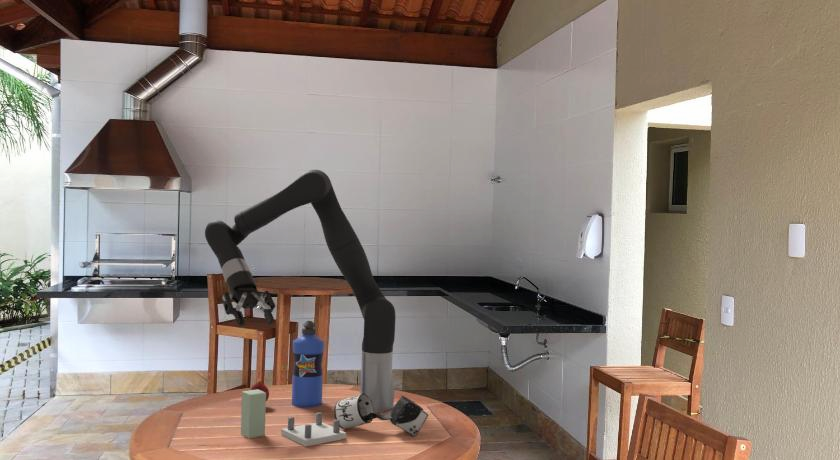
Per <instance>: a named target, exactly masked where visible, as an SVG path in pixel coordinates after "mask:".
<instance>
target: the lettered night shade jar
mask: <svg viewBox="0 0 840 460" xmlns="http://www.w3.org/2000/svg"><path fill="white" fill-rule="evenodd" d="M360 394H361V393H360ZM360 394H357V395H354V396H351V397H347V398H345V399H341V400H339V401H336V403H335V405H334V408H333V415H334V420H340V429H342V430H349V429H352V428H355V427H359V426H363V425H367V424H370V423H371V422H373V420H374V419H376V418H377V419H379V420H381V421H388V420H389V421H390V423H391V424H392V425H394V426H395V427H398V428H399V429H401V430H403V431H404V432H406V433H407V434H409V435H411V436H413V437H414V438H416V437H417V435H418V434H419V431H420V430H421V429H422V428H423V425H424V423H425V422H426V420H427V418H428V417H429V414H428V413H427V411H425V410H424V409H423V407H421V406H420V405H419V404H417V403H416V402H415V401H413V400H412V399H410V398H408V397H406V396H404V395H401V396H400V397H399V399H398V400H397V401H396V403H394V407H393V408H392V409H391V411H390V412H388V413H384V414H382V413H381V412H377V413H375V412H374V407H373V404H372V401H371V400H370V398H369V397H368V396H367V395H366V394H361V395H360Z"/></svg>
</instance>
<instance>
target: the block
mask: <svg viewBox="0 0 840 460" xmlns="http://www.w3.org/2000/svg"><path fill="white" fill-rule="evenodd" d="M266 407H267V401H266V392H263V391H261V390H258V389H256V390H250V389H249V390H242V391H241V412H240V414H241V416H240V418H241V419H240V435H241V436H244V437H246V438H248V439H253V438H258V437H259V438H260V437H263V436H266V435H265V434H266V414H267V413H266V412H267V411H266Z"/></svg>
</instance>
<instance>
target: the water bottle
mask: <svg viewBox="0 0 840 460" xmlns="http://www.w3.org/2000/svg"><path fill="white" fill-rule="evenodd" d="M302 326H303V327H302V328H301V334H302V335H301V336H299V337H298V338H295V339H294V340H293V341H292V352H293V364H294V366H293V372H292V382H291V383H292V385H291V405H292V406H293V405H294V407H296V406H297V407H298V408H315V407H316V408H317V407H319V406H321V405H322V404H323V381H324V380H323V378H324V377H323V367H322V366H323V365H322V363H323V358H324V357H323V356H324V352H325V340H323V339H322V338H320V337H317V335H316V334H317V328H315V327H316V324H315V323H314V321H312V320H306V321H305V322H304V323H303V324H302Z"/></svg>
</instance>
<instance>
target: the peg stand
mask: <svg viewBox="0 0 840 460" xmlns="http://www.w3.org/2000/svg"><path fill="white" fill-rule="evenodd" d="M332 422H333V423H332V424H333V425H329V424H327V423H324V422H323V412H316V413H315V422H313V423H308V424H300V425H295V417H293V416H289V417H288V418H287V427H284V428H281V431H280V432H281V433H280V434H281V436H283V437H285V438H287V439H289V440H291V441H293V442H295V443H297V444H299V445H302V446H304V447H310V446H314V445H319V444H324V443H330V442H336V441H340V440H346V439H347V432H345V431H343V430H340V429H341V428H340V420H336V419H333V421H332Z"/></svg>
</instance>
